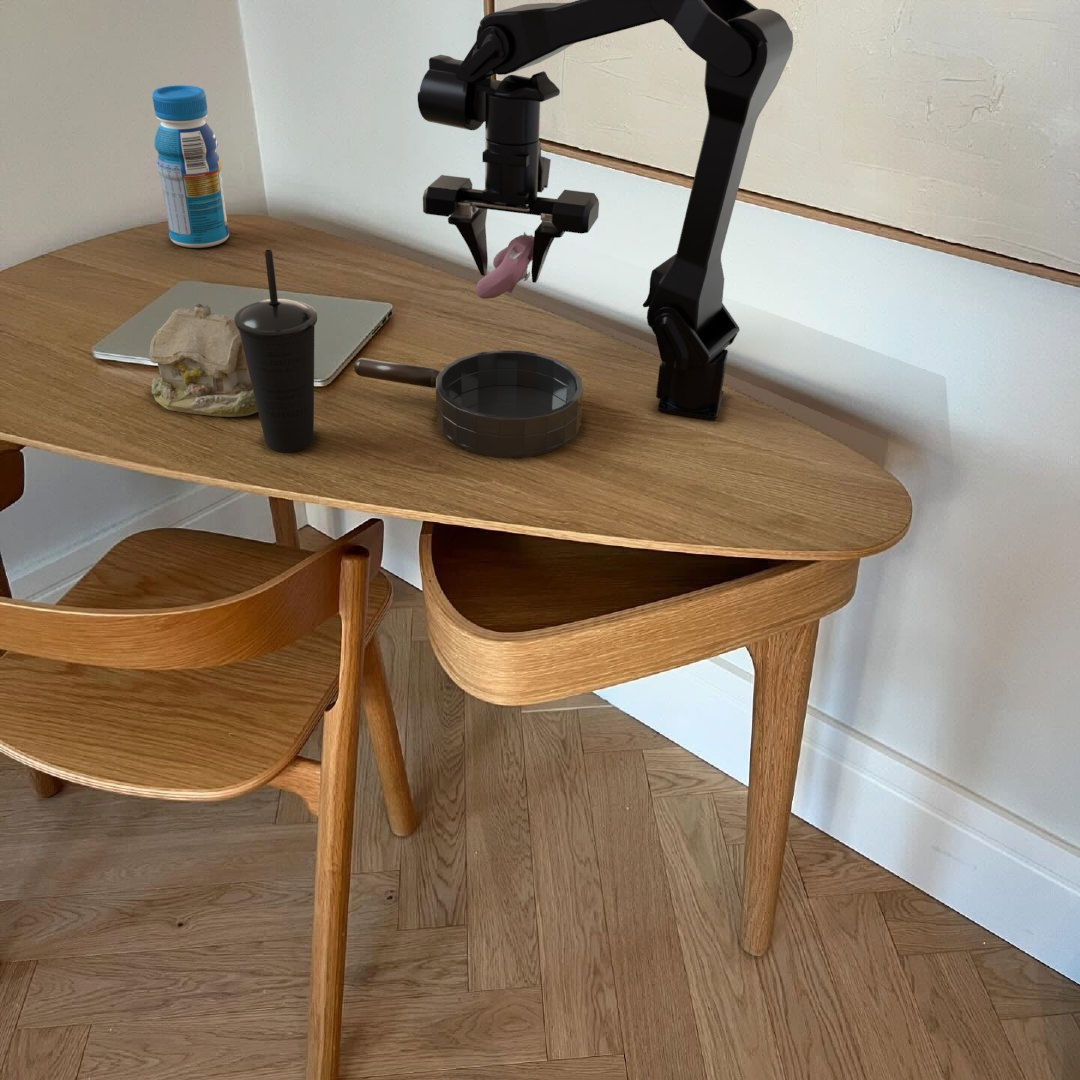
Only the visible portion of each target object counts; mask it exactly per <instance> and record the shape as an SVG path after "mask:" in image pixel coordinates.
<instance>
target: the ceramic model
mask: <svg viewBox="0 0 1080 1080" xmlns="http://www.w3.org/2000/svg"><path fill="white" fill-rule="evenodd" d="M148 352H149V355H148V358H149V360H150V362H151V363H154V364H157V367H158V371H159V375H160V376H155V377H154V378H153V379H152V380H151V394H152V396H153V397H154V400H155V402H156V403H158V404H159V405H160V406H162V407H163V408H164V409H166V410H169V411H173V412H179V413H186V414H193V415H199V416H211V417H221V418H222V417H226V418H235V417H247V416H251V415H254V414H256V413H257V414H258V409H257V404H256V400H255V396H254V391H253V387H252V383H251V379H250V374H249V370H248V366H247V362H246V357H245V353H244V349H243V344H242V340H241V336H240V332H239V330H238V329H237V327H236V326H235V322H234V319H233V317H231V316H228V315H224V314H220V313H219V314H218V313H214V312H213V313H212V310H211V306H209V304H201V303H197V304H196V305H195V306H194V308H193V310H192V309H190V308H189V309H188V308H176V309H175V310H173V311H171V314H170V316H169V318H168V319H167V320H166V321H165V323H164V324H163V325H162V326H161V327H160V328H159V329H158V330H156V331H155V332H154V336H153V337H152V338H151V341H150V349H149V351H148Z"/></svg>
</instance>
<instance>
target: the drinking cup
mask: <svg viewBox="0 0 1080 1080" xmlns="http://www.w3.org/2000/svg"><path fill="white" fill-rule="evenodd" d="M264 257H265V266H266V275H267V283H268V284H267V285H268V292H269V298H266V299H263V300H259V301H256V302H253V303H250V304H248V305H246V306H244V307H242V308H240V309H239V310H238V311H237V312H236V313H235V314H234V318H233V320H234V322H235V326H236V327H237V329H238V330H239V332H240V336H241V340H242V344H243V349H244V353H245V357H246V362H247V366H248V370H249V374H250V379H251V383H252V387H253V391H254V396H255V400H256V404H257V409H258V412H257V414H258V417H259V421H260V425H261V430H262V434H263V438H264V442H265V445H266V446H267V448H269V449H270V450H272V451H275V452H279V453H294V452H299V451H302V450H305V449H307V448H308V447H310V446H311V445H312V444H313V442H314V438H315V437H314V435H315V433H314V432H315V430H314V429H315V325H316V323H317V321H318V314H317V311H316V310H315V308H314V307H313V306H311V305H309V304H307V303H305V302H302V301H299V300H298V301H297V300H293V299H288V298H278V291H277V290H278V289H277V281H276V271H275V264H274V253H273V250H272V249H265V250H264Z"/></svg>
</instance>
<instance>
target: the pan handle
mask: <svg viewBox="0 0 1080 1080" xmlns="http://www.w3.org/2000/svg"><path fill="white" fill-rule="evenodd" d="M353 370H354V372H355V374H356V375H357V376H359V377H363V378H368V379H374V380H381V381H387V382H393V383H399V384H400V383H401V384H406V385H413V386H417V387H424V388H431V389H436V378H437V376H438V375H439V373H440V372H441V370H439V369H437V368H431V367H425V366H417V365H412V364H406V363H399V362H395V361H394V362H393V361H387V360H380V359H374V358H369V357H368V358H367V357H359V358H358V359H356V361H355V362H354V364H353Z"/></svg>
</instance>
